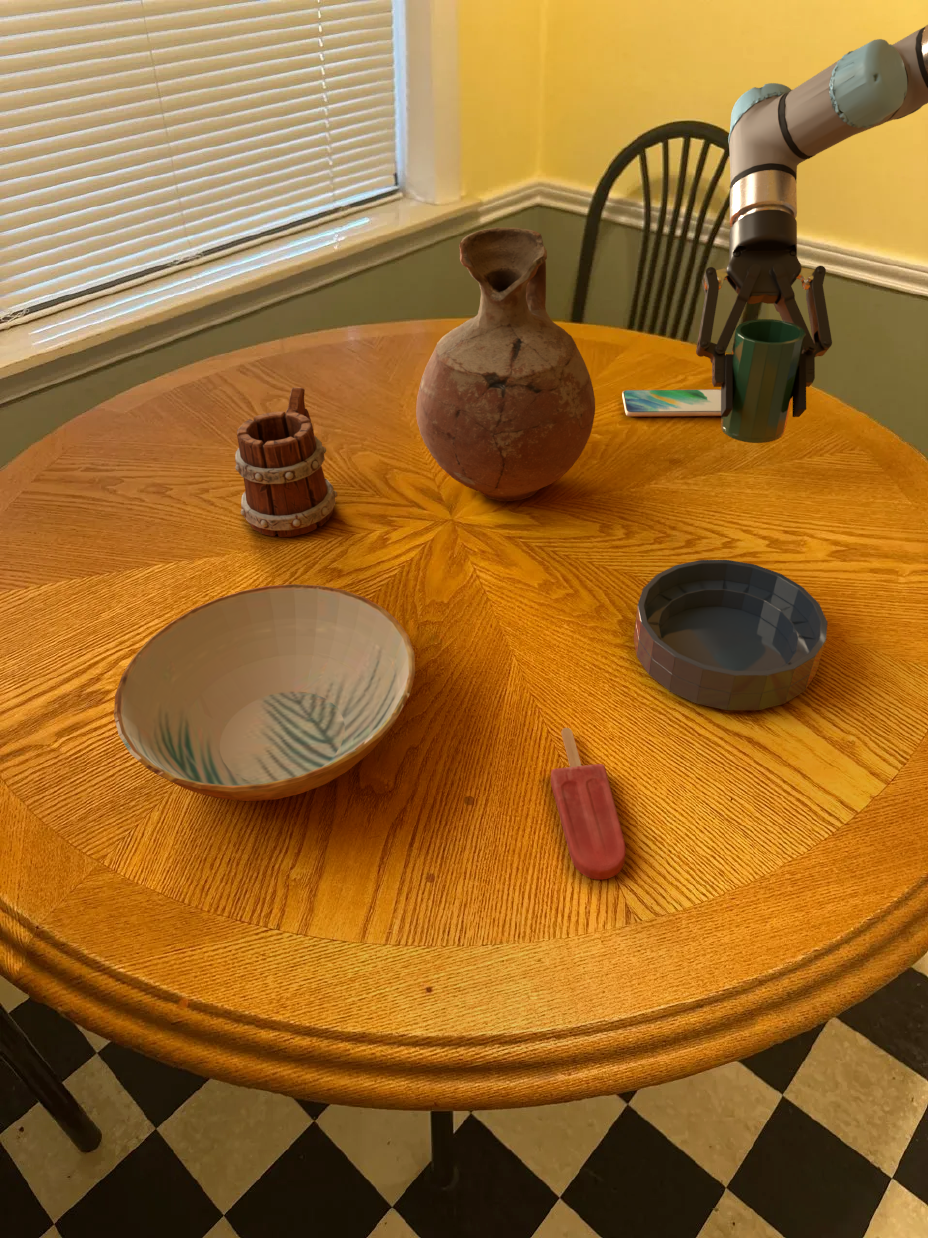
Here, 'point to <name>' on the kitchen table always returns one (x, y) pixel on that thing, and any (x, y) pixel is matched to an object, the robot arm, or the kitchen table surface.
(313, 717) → the bowl
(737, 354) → the green cup
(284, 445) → the mug
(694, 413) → the smartphone
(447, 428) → the jug
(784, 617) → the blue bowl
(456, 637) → the kitchen table surface
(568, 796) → the popsicle
